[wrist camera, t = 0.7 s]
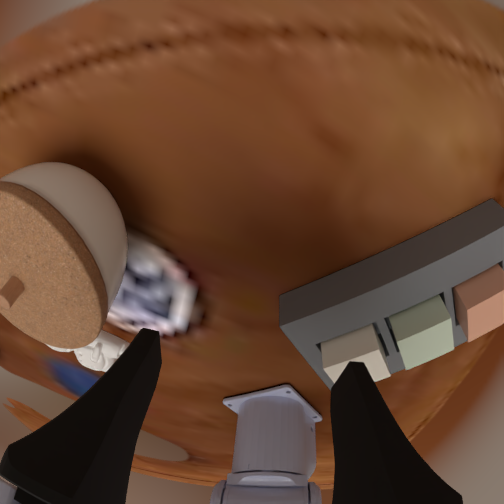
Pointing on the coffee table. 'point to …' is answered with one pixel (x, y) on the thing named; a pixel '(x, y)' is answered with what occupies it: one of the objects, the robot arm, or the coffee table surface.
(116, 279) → the lidded jar
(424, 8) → the coffee table surface
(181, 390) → the coffee table surface
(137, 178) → the coffee table surface
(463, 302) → the pink block
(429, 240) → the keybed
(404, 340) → the sage key
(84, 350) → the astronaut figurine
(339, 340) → the ivory key
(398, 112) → the coffee table surface
